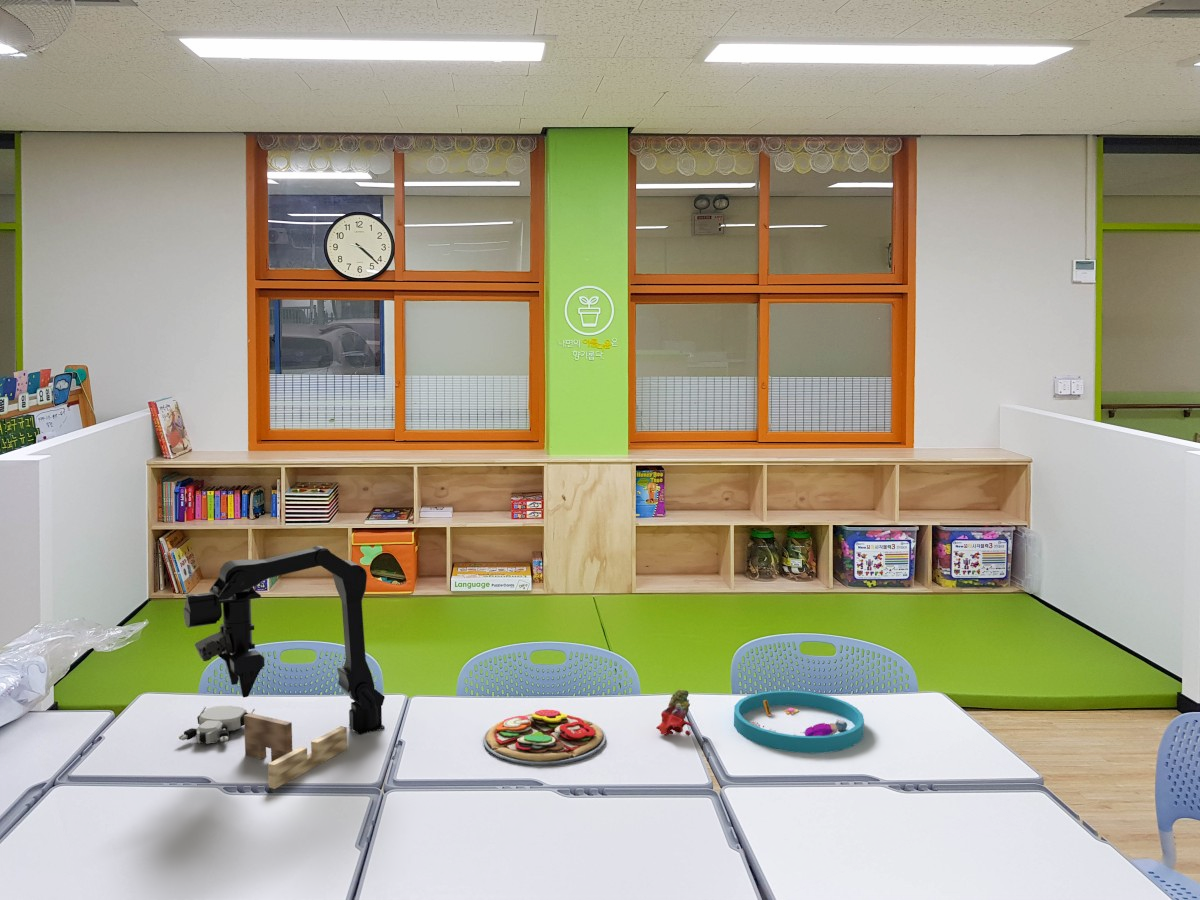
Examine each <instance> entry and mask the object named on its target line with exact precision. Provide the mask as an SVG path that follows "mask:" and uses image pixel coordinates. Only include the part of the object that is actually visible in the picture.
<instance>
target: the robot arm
mask: <svg viewBox="0 0 1200 900" xmlns="http://www.w3.org/2000/svg"><path fill="white" fill-rule="evenodd" d="M315 567H322V568H323V569H325V570H327V571H328V572H329V573H331V574H332V577H333V582H334V586H335V589H336V591H337V593H338V596H339V598H340V600H341V611H342V612H341V613H342V625H343V639H344V653H345V661H344V664H343V667H337V674H338V682H337V684H338V686H340V688H341V689H342V691H343V692H344V693H345V694H347V695H348V697H349V698H350V699H351V700H353V701H352V702H350V708H351V709H349V710H348V716H349V717H348V718H349V719H348V720H349V722H348V727H350V729H352V731H354V732H355V733H356V734H357V735H362V734H367V733H372V732H376V731H381V730H384V729H385V725H383V724H382V722H383V721H382V719H383V717H382V715H383V712H382V706H383V705H384V701H385V698H386V697H385V695H383V694H382V693H381V692H379V691H378V690H377V689H376V688H375V683H374V679H373V675H372V672H371V670H370V667H369V665H368V662H367V657H366V645H365V631H364V630H365V628H364V614H363V613H364V611H363V599H364V595H365V593H366V590H367V581H368V575H367V571H366V569H365V568H364V567H362V566H361V565H360V564H358V563H356V562H354V561H352V560H348V559H345V560H343V559H342V558H340V557H339V556H337V555H336V554H334V553H333V552H332V551H331V550H330V549H328V548H326V547H324V546H322V545H315V546H313V547H310V548H306V549H301V550H298V551H293V552H288V553H285V554H281V555H276V556H272V557H267V558H263V559H247V558H245V559H234V560H233V559H232V560H229V561H226V562H224V563H223V564H222V566H221V567H220V570H219V572H218V577H217V579H216V580H215V581H214V583H213V584H212V585H211V587H210V589H209V592H204V593H189V594H186V595H185V602H184V608H183V616H184V623H185V626H186V628H187V629H190V628H196V627H202V626H208V625H209V626H210V625H215V624H217V623H218V622H220V620H221V619H222V622H223V623H220V625H219V632H218V631H217V632H215V633H213V634H210V635H209V636H207V637H205V638H203V639H201V640H199V641H197V642H196V643H194V646H195V648H196V650H197V654H198V655H199V657H200V659H202V661H203V662H208V661H210V660H212V658H214V657H215V656H218V657H219V658H220V659H221V660H223V661H224V663H225V666H226V671H227V673H228V676H229V679H230V683H231V685H233V686H234V685H238V683H239V687H240V692H241V696H242V698H248V697H249V695H250V693H251V692H252V689H253V686H254V684H255V683H256V679H257V678H258V676H259V674H260V672H261V670H262V669H263V668H264V667H265V665H266V664H265V657H264V656H263V655H262V654H261V653H260V652H258V651H257V650H255V649H256V644H255V643H254V642H253V631H254V630H255V625H254V624H253V622H252V599H253V600H254V599H261V598H262V595H261V594H260V593H259V592H258V591H256V590H255V589H254V587H256V586H258V585H259V584H261V583H263V582H264V581H266V580H268V579H271V578H276V577H281V576H283V575H287V574H291V573H296V572H299V571H300V572H301V571H304V570H308V569H312V568H315ZM253 649H254V650H253Z"/></svg>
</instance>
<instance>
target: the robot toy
mask: <svg viewBox="0 0 1200 900" xmlns="http://www.w3.org/2000/svg"><path fill="white" fill-rule="evenodd" d="M255 711H256V708H255V707H254V708H252V710H251V712H250V713H252V714H254V712H255ZM248 713H249V712H248V710H247V709H245V708H244V707H240V706H237V705H236V706H234V705H218V706H212V707H208V708H207V706H204V707H203V709H202V710H201V712H200V713H199V715H198V716H197V717H196V719H197V724H198V727H197V728H193V727H192V728H188V729H186V730H185V731H183V734H180V735H179V736H178V739H179V740H181V741H185V740H187V741H189V740H191V739H194V738H195V737H196V740H197V743H198V744H205V743H206V744H216V743H218V741H220V742H228V740H229V737H230V736H229V735H230V734H229V732H231V731H232V732H233V731H237V730H239V729H241V728H242V727H244V715H246V714H248Z"/></svg>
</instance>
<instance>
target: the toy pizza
mask: <svg viewBox="0 0 1200 900" xmlns="http://www.w3.org/2000/svg"><path fill="white" fill-rule="evenodd" d="M482 739H483V741H482V742H483V745H484V747H485V748H486V749H487V751H488V752H490V753H491V754H492V755H494V756H495V757H498V758H500V759H502V760H505V761H509V762H511V763H517V764H523V765H529V766H553V765H555V766H556V765H561V764H562V765H564V764H568V763H569V764H570V763H572V762H573V763H574V762H578V761H581V760H584V759H585V758H589V757H590V756H592V755H594V754H595V753H596V752H597V751H599V750H600V749H601V748H602V747H603V746H604V745H605V742H606V734H605V732H604V730H603V729H602V728H601V727H600V726H599V725H597V724H596V723H594V722H592V721H589V720H587V719H585V718H584V719H583V718H580V717H577V716H576V715H575V716H574V715H571V714H566V713H564V712H560V711H559V710H554V709H540V710H536V711H534V712H533V713H528V714H525V715H517V716H512V717H508V718H506V719H504V720H502V721H500V722H498V723H496V724H494V725H493V726H491V727H490V728H489V729H487V731H486V732H485V733H484V736H483V738H482Z"/></svg>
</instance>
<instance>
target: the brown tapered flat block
mask: <svg viewBox="0 0 1200 900" xmlns="http://www.w3.org/2000/svg"><path fill="white" fill-rule="evenodd" d="M247 713H248V714H246V715H244V725H243V727H244V751H245V753H244V756H247V757H251V758H255V759H259V760H262V759H264V758H266V757H267V749H270V756H271V757H270V759H271V761H270V762H272V761H274V760H276V759H278V758H280V757H282V756H284V755H286V754H288V753H290V752H292V751H293V730H292V729H293V727H292V722H291V721H288V720H282V719H277V718H273V717H269V716H265V715H260V714H255V713H251V712H247Z"/></svg>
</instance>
